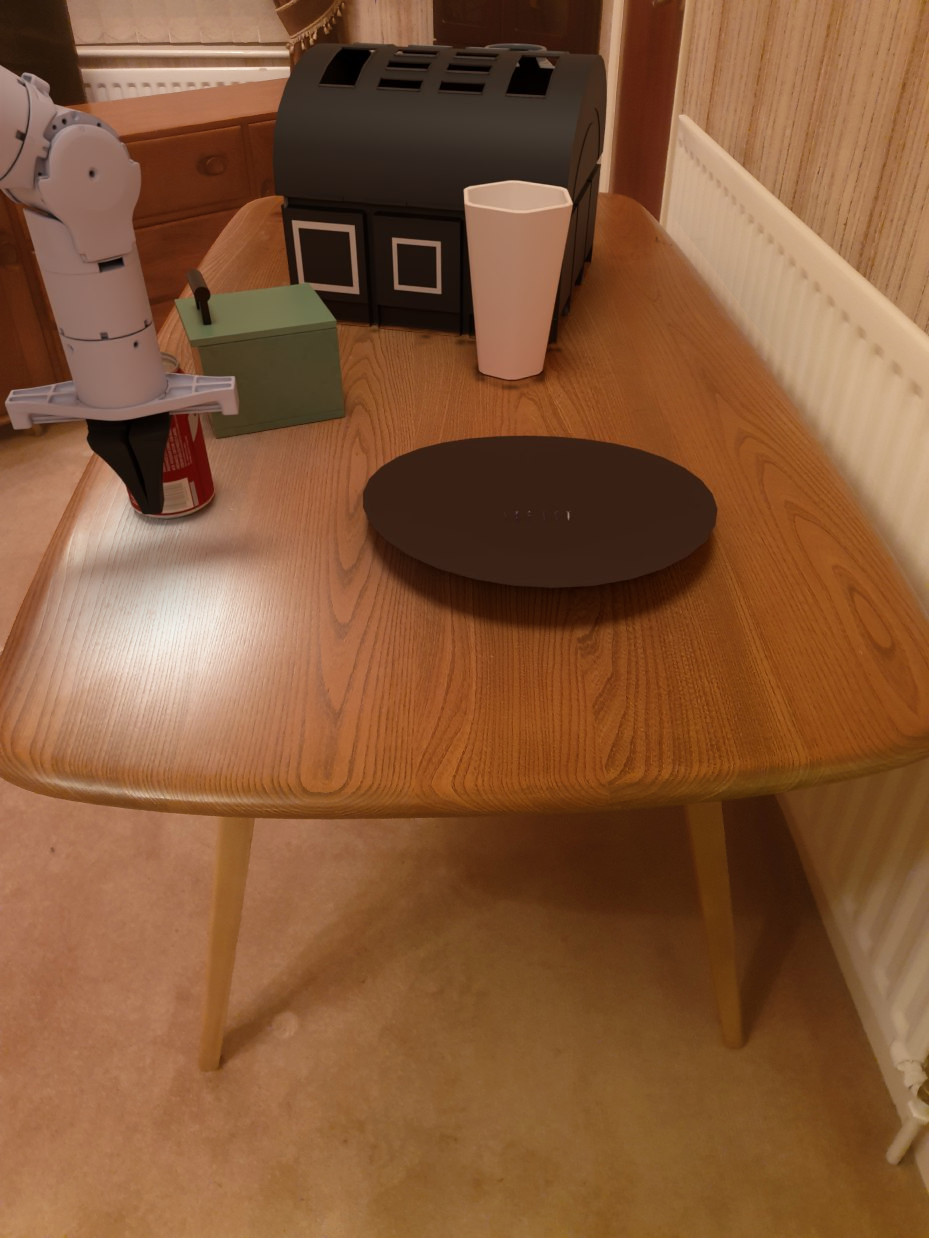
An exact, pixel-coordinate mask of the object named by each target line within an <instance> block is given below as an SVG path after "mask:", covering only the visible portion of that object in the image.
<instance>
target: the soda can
mask: <svg viewBox="0 0 929 1238" xmlns="http://www.w3.org/2000/svg"><path fill="white" fill-rule="evenodd" d="M160 353H161V357H162V362H163V366H164V371H165V372H166V373H177V374H187V373H186V372H185V370H183V369H182V367H181V364H180V360H179V358H178V357H177V356H176V355H175V354H173V353H170V352H166V351H164V350H163V351H162V350H160ZM125 488H126V492H127V495H128V499H129V503H130V506H131V508H133V510H134V511H135V512H136V513H139V514H140V515H142V516H146V517H149V518H153V519H154V518H156V519H163V520H165V519H167V520H168V519H169V520H171V519H180V518H183V517H186V516H189V515H191V514H194V513H196V512H197V511H199V510H201V509H202V508H204V507H205V506H207V505H208V504H209V503H210V502H211V501H212V499H213V498H214V496H215V489H216V488H215V485H214V480H213V475H212V470H211V465H210V461H209V454H208V450H207V447H206V441H205V436H204V431H203V427H202V422H201V417H200V413H187V414H173V417H172V422H171V428H170V433H169V437H168V441H167V445H166V449H165V455H164V465H163V490H164V498H165V501H164V506H163V512H162V513H160V514H148V515H143V514H142V512H141V510H140V508H139V506H138V504H137V502H136V501H135V499H134V497H133V496H132V494H131V492H130V491H129V489H128V488H127V487H126V486H125Z"/></svg>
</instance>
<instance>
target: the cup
mask: <svg viewBox="0 0 929 1238" xmlns="http://www.w3.org/2000/svg"><path fill="white" fill-rule="evenodd" d="M464 204H465V215H466V227H467V238H468V250H469V262H470V273H471V285H472V296H473V308H474V320H475V331H476V338H475V341H476V342H475V343H476V352H477V353H476V355H477V366H478V371H479V372H480V373H481V374H484V375H486V376H491V377H495V378H500V379H503V380H506V381H507V380H509V381H510V380H511V381H514V380H521V379H525V378H527V377H532V376H536V375H539V374H540V373H541V372H543V369H544V364H545V358H546V354H547V353H546V352H547V347H548V344H547V342H548V337H549V331H550V326H551V320H552V315H553V310H554V304H555V299H556V293H557V288H558V282H559V277H560V272H561V266H562V261H563V255H564V250H565V244H566V239H567V234H568V228H569V223H570V217H571V212H572V206H573V203H572V200H571V198H570V195H569V193H568V190H567V189H565V188H563V187H558V186H551V185H545V184H538V183H531V182H524V181H503V182H497V183H490V184H483V185H476V186H469V187H467V188H465V189H464Z"/></svg>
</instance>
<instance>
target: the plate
mask: <svg viewBox="0 0 929 1238" xmlns="http://www.w3.org/2000/svg"><path fill="white" fill-rule="evenodd" d="M362 509H363V511H364V513H365V515H366V518H367V520H368V522H369V524H370V526H372V527H373V528H374V529H375V531H376V532H378V534H379V535H380V536H381V537H382V538H383V539H384V541H386V542H388V543H389V544H390V545H392V546H393V547H395V548H396V549H398V550H400V551H401V552H402V553H404V554H406V555H407V556H409V557H411V558H412V559H413V558H414V559H415V560H418V561H420V562H422V563H424V564H427V565H429V566H431V567H433V568H436V569H438V570H442V571H445V572H449V573H451V574H455V575H458V576H462V577H466V578H469V579H472V580H478V581H482V582H491V583H495V584H501V585H506V586H507V585H508V586H516V587H532V588H550V589H554V588H555V589H559V588H575V587H594V586H601V585H606V584H610V583H617V582H622V581H623V582H624V581H629V580H633V579H637V578H639V577H642V576H645V575H649V574H651V573H655V572H659V571H661V570H664V569H666V568H668V567H670V566H671V565H673V564H676V563H678V562H679V561H681V560H683V559H685V558H687V557H689V556H690V555H691V554H692V553H694V552H695V551H696V550H697V549H699V548H700V547H701V546H702V545H703V544H704V543H706V541H707V540H708V538H709V536H710V535H711V533H712V531H713V530H714V528H715V527H716V525H717V518H718V506H717V503H716V500H715V496H714V494H713V492H712V491H711V490H710V489H709V488H708V486H707V485H706V484H705V483H704V481H703V480H702V479H701V478H699V477H698V476H697V475H695V474H694V473H693V472H691V471H690V470H688V469H687V468H685V467H684V466H682V465H680V464H679V463H676V462H674V461H672V460H669V459H668V458H666V457H664V456H662V455H661V456H660V455H659V454H655V453H652V452H650V451H646V450H643V449H640V448H635V447H631V446H627V445H622V444H618V443H615V442H607V441H601V440H594V439H588V438H578V437H567V436H555V435H553V436H552V435H494V436H483V437H470V438H469V437H468V438H462V439H456V440H450V441H443V442H440V443H435V444H432V445H427V446H424V447H423V446H422V447H419V448H417V449H413V450H411V451H408V452H406V453H404V454H401V455H398V456H396V457H394V458H393V459H391V460H390V461H388V462H386V463H385V464H383V465H381V466H380V467H379V468H378V469H377V470H376V471H375V472H374V473H373V474H372V475H371V476H370V477H369V478H368V480H367V482H366V485H365V486H364V489H363V491H362Z"/></svg>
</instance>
